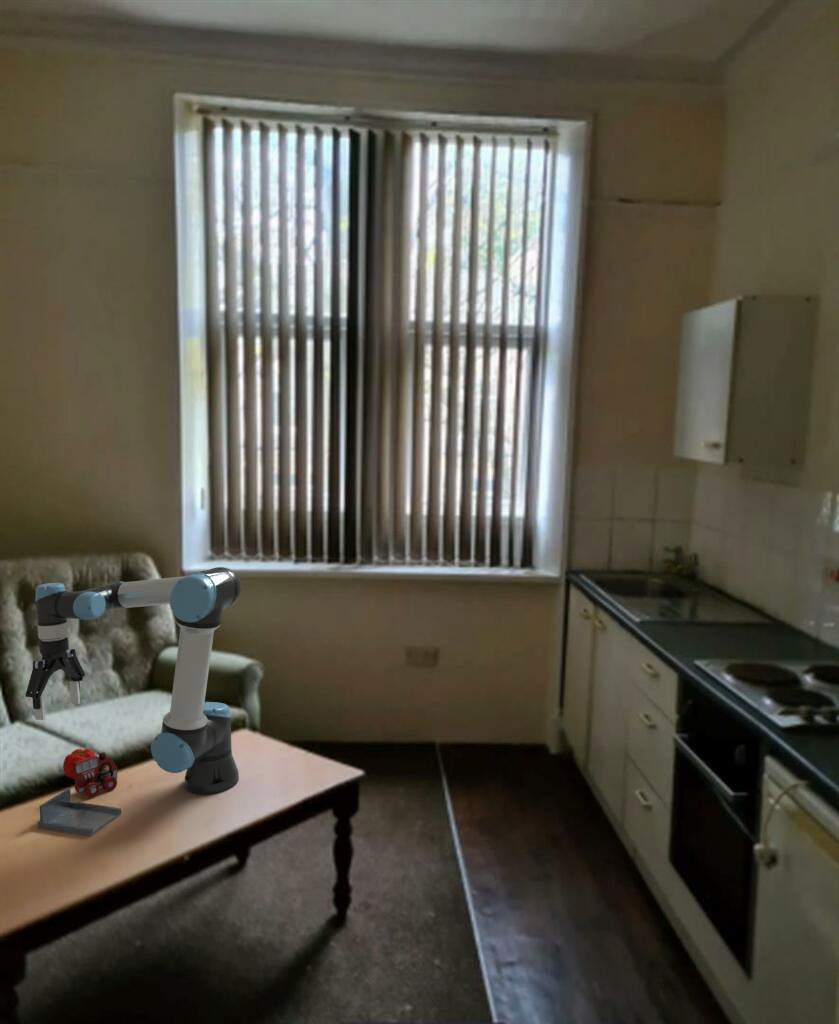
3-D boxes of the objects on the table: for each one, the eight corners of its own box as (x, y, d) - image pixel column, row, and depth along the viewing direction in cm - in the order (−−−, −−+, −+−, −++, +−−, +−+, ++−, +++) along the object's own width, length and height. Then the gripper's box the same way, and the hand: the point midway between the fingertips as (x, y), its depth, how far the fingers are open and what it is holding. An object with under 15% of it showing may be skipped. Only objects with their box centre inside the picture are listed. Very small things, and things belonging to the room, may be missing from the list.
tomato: (76, 785, 216) (75, 760, 215) (58, 779, 221) (56, 754, 220) (105, 773, 224) (104, 749, 223) (86, 767, 229) (85, 743, 228)
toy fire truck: (123, 786, 215) (122, 751, 214) (81, 802, 206) (79, 766, 205) (111, 780, 219) (109, 745, 219) (69, 795, 210) (67, 759, 209)
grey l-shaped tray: (121, 814, 198) (120, 794, 198) (90, 836, 187) (89, 815, 187) (70, 807, 203) (69, 787, 202) (38, 828, 192) (36, 807, 191)
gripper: (73, 627, 225) (78, 696, 227) (7, 648, 201) (12, 725, 203) (94, 628, 223) (99, 697, 224) (30, 650, 199) (35, 728, 201)
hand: (58, 711), depth 214 cm, fingers open, 13 cm apart
